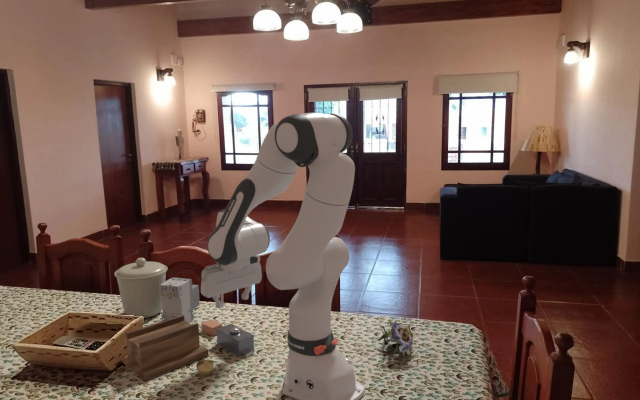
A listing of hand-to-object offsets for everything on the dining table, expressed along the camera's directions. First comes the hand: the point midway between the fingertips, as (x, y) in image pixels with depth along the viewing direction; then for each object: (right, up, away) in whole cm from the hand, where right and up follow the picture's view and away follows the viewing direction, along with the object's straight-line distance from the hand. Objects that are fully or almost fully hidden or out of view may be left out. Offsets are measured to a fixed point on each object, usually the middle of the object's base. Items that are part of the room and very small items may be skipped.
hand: (232, 303), depth 148 cm
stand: (-19, -15, -5) cm, 25 cm away
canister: (-38, -10, +29) cm, 49 cm away
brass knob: (-5, -17, -13) cm, 22 cm away
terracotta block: (-9, -13, +13) cm, 21 cm away
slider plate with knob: (+1, -14, +2) cm, 14 cm away
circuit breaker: (-22, -11, +23) cm, 34 cm away
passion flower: (+50, -15, -1) cm, 52 cm away
